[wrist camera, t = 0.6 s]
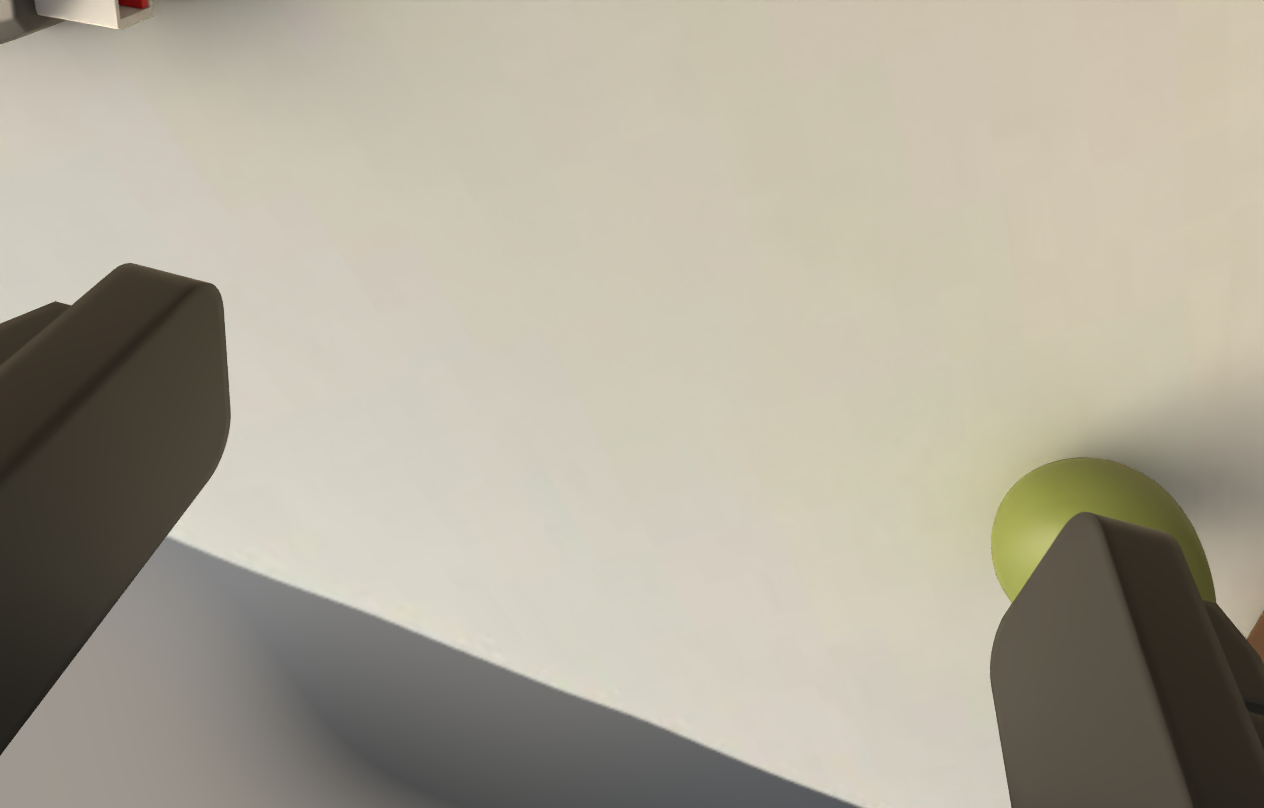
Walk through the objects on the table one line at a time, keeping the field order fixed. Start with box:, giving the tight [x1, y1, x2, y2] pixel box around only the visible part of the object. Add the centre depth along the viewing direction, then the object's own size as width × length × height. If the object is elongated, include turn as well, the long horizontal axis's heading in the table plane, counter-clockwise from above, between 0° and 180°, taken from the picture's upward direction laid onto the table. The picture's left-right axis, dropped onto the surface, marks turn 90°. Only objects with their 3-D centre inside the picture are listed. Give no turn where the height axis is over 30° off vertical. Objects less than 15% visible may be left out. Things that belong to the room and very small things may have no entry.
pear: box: [991, 458, 1216, 603], centre depth 27 cm, size 6×5×10 cm
